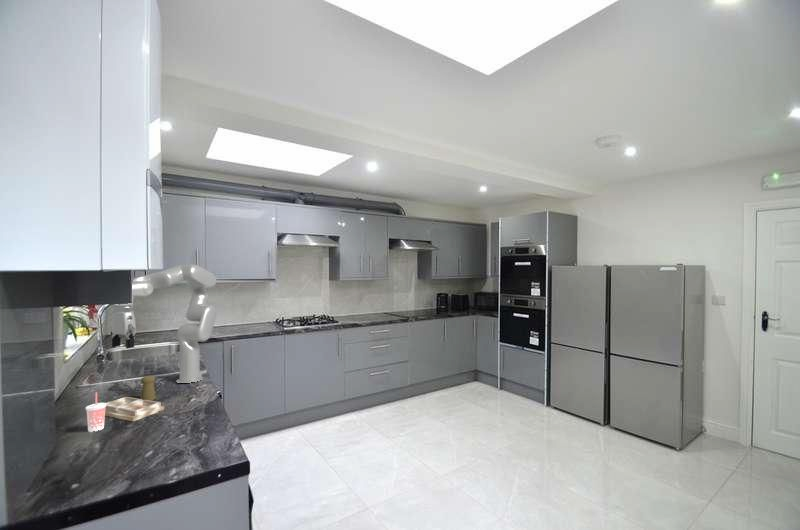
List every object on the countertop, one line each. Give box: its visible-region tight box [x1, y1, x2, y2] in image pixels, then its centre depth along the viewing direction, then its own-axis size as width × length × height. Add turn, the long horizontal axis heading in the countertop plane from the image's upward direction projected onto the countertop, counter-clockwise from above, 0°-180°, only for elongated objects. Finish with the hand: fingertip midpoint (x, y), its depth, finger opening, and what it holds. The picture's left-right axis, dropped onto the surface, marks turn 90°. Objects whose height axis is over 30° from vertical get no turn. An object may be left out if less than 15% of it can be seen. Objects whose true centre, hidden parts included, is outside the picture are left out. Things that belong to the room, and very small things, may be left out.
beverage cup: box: [85, 392, 107, 433], centre depth 136 cm, size 6×6×14 cm
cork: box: [140, 375, 157, 401], centre depth 168 cm, size 6×6×11 cm
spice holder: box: [105, 396, 165, 422], centre depth 153 cm, size 13×24×4 cm, turn 69°
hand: (123, 347), depth 162 cm, fingers open, 9 cm apart
